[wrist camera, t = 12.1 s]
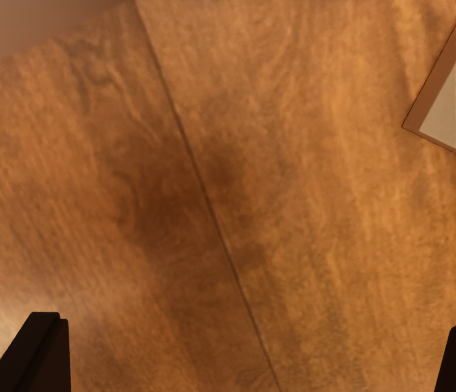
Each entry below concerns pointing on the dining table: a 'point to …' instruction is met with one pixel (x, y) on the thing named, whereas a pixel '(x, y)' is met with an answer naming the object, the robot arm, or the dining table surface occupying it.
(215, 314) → the dining table surface
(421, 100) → the button block
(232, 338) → the dining table surface
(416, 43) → the dining table surface
